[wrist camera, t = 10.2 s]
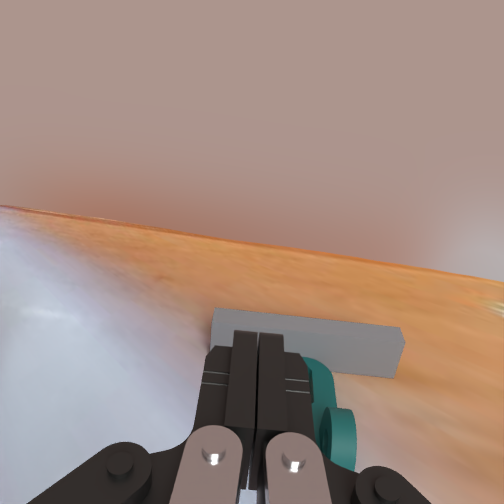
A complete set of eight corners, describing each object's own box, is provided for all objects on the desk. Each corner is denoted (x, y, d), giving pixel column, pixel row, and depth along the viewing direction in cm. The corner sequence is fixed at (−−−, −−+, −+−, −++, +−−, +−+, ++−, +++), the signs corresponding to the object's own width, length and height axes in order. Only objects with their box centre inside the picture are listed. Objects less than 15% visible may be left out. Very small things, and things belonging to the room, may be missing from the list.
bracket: (343, 507, 44) (360, 453, 40) (272, 498, 44) (283, 443, 40) (327, 373, 60) (339, 325, 56) (276, 367, 60) (283, 318, 56)
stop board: (209, 358, 60) (211, 321, 57) (212, 343, 62) (214, 307, 59) (393, 378, 60) (405, 342, 57) (388, 362, 62) (399, 327, 59)
